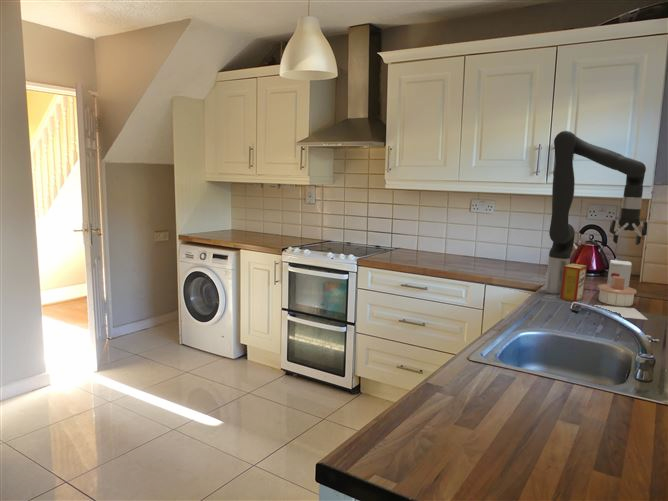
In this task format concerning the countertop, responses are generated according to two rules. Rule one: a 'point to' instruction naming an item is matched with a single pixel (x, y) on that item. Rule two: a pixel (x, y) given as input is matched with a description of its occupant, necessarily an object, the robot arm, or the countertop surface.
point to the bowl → (616, 298)
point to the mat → (625, 312)
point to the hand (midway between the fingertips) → (626, 243)
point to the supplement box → (620, 271)
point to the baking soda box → (573, 282)
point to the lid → (617, 286)
